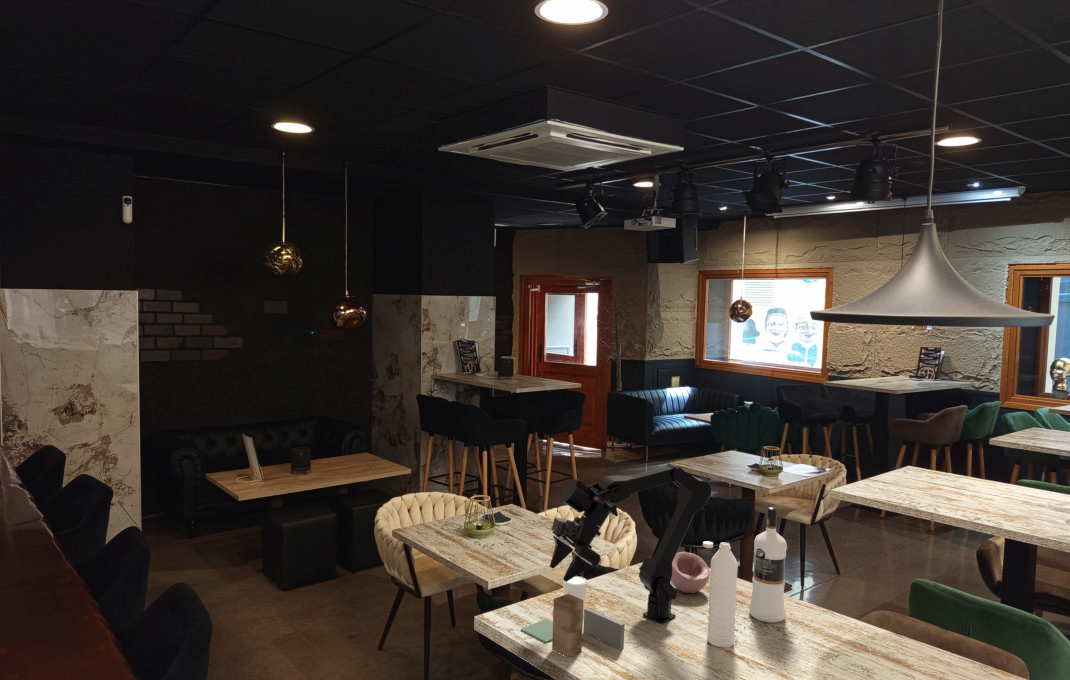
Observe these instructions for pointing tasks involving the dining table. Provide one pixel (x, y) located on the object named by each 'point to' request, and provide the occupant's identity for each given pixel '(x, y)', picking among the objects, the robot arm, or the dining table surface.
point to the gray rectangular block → (604, 628)
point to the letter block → (567, 625)
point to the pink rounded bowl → (689, 572)
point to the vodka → (769, 573)
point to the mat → (540, 630)
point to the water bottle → (722, 596)
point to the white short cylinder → (575, 587)
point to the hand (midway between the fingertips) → (557, 574)
